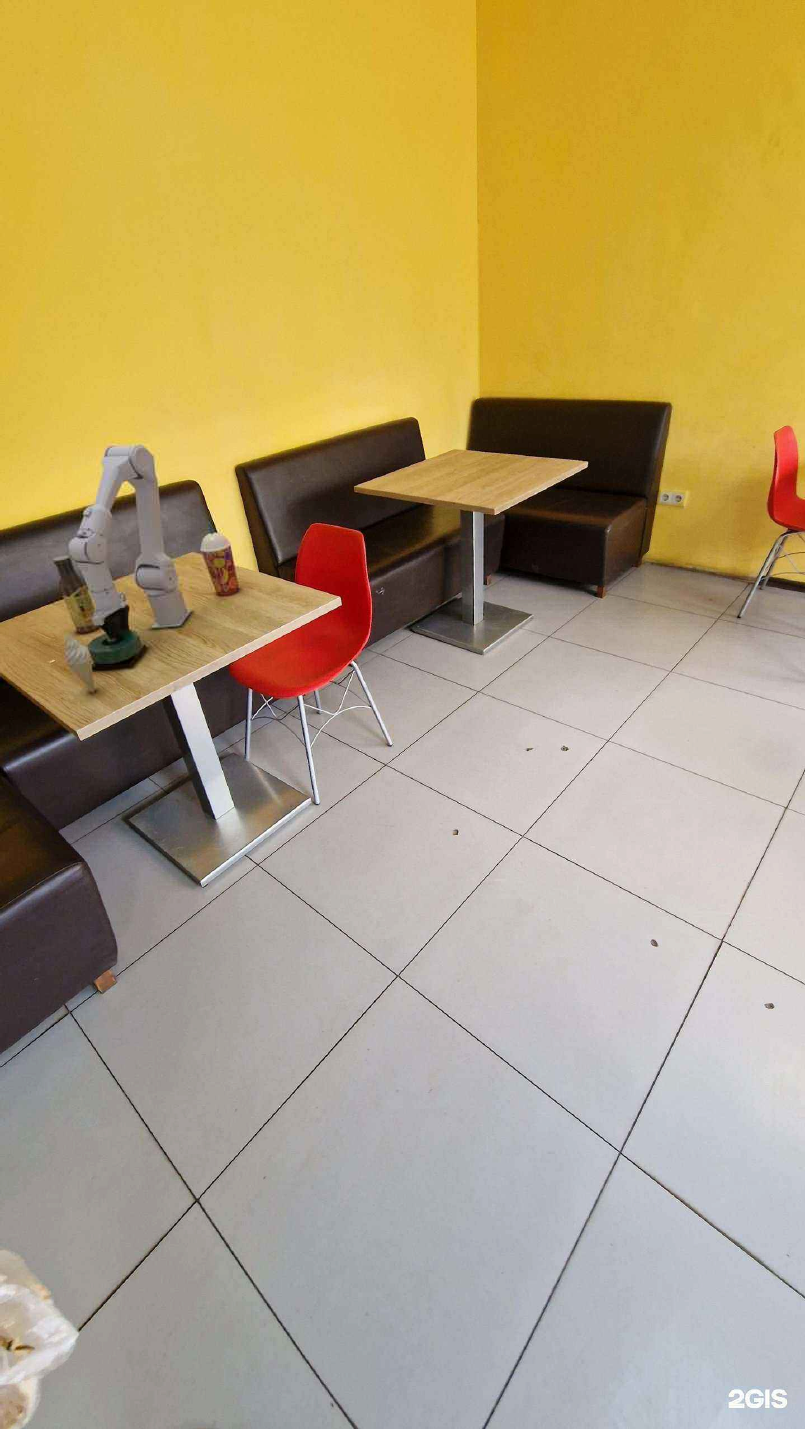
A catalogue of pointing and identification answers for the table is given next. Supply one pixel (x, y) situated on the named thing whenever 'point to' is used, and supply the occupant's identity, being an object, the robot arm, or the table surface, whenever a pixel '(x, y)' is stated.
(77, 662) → the ice cream cone
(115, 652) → the ring
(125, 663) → the peg stand
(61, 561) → the sauce bottle
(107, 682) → the table surface
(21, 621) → the table surface
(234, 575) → the smoothie
